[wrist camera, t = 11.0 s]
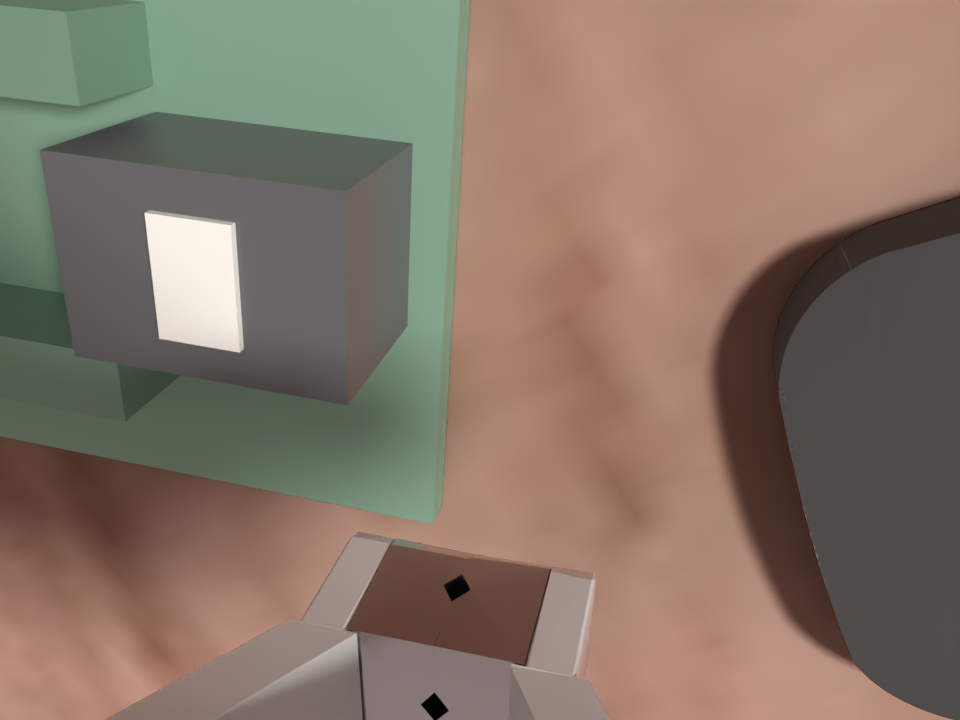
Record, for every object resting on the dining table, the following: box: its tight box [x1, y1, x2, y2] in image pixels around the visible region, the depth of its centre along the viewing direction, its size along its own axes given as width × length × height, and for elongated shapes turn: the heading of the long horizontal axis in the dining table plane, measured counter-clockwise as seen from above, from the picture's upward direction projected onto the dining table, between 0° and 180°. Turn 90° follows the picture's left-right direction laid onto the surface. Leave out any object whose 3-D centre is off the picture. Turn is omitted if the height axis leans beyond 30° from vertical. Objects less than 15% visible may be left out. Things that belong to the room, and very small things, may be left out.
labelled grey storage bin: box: [39, 112, 413, 405], centre depth 21 cm, size 7×5×5 cm
